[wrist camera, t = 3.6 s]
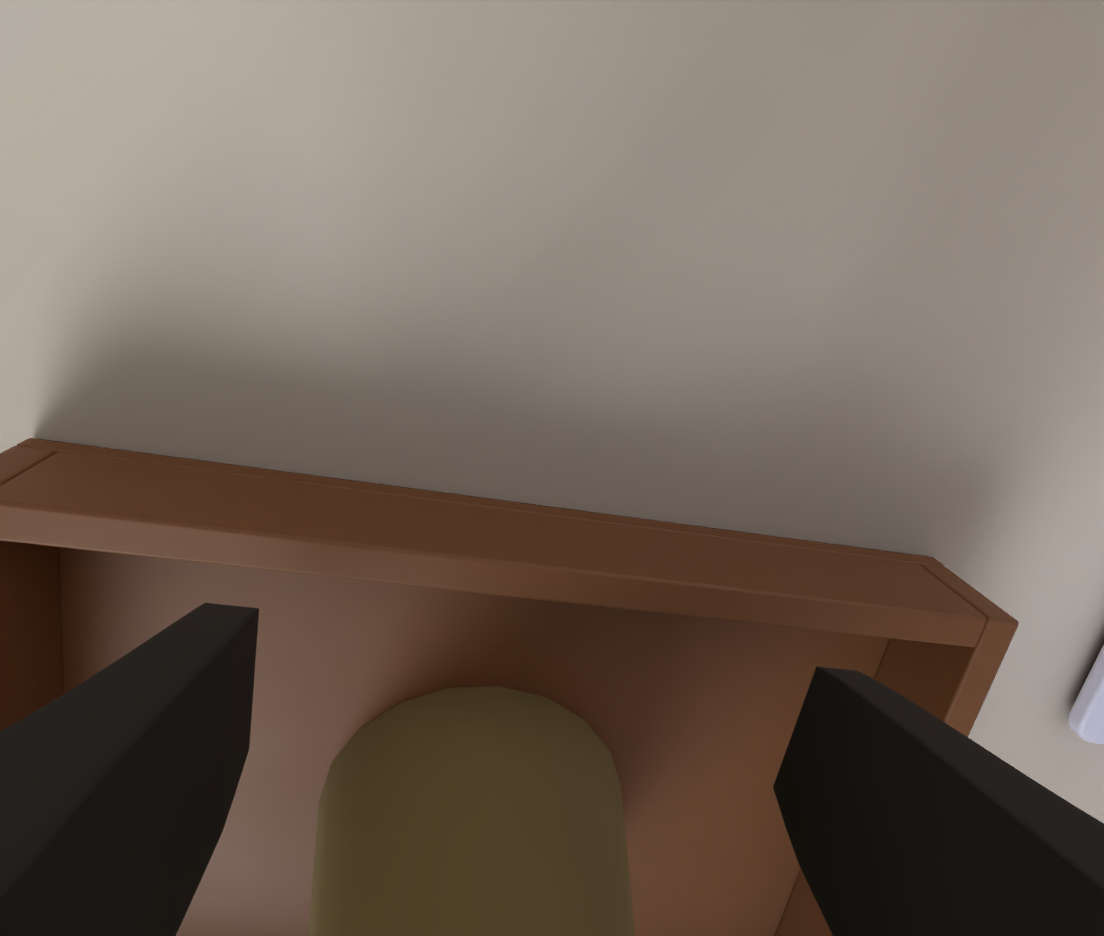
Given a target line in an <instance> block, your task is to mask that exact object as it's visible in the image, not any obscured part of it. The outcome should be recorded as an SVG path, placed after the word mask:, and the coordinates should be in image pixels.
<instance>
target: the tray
mask: <svg viewBox="0 0 1104 936" xmlns="http://www.w3.org/2000/svg"><path fill="white" fill-rule="evenodd" d="M204 603H213V604H222V605H232V606H242V607H251V608H259V618H258V632H257V646H256V660H255V675H254V689H253V703H252V717H251V731H250V746H249V752H248V755H247V758H246V761H245V764H244V767H243V771H242V774H241V777H240V780H239V783H238V786H237V790H236V793H235V796H234V799H233V802H232V805H231V808H230V811H229V814H228V817H227V820H226V823H225V826H224V829H223V832H222V834H221V836H220V839H219V841H218V843H217V845H216V848H215V850H214V852H213V855H212V857H211V859H210V861H209V863H208V866H207V868H206V870H205V872H204V875H203V877H202V879H201V881H200V883H199V886H198V888H197V890H196V892H195V895H194V897H193V899H192V901H191V903H190V906H189V908H188V910H187V912H186V914H185V917H184V919H183V921H182V923H181V925H180V928H179V930H178V932H177V934H176V936H308V934H309V921H310V908H311V896H312V883H313V870H314V858H315V845H316V832H317V819H318V807H319V799H320V796H321V793H322V790H323V787H324V784H325V781H326V778H327V775H328V772H329V769H330V766H331V763H332V762H333V761H334V759H335V758H336V757H337V756H338V754H339V753H340V752H341V751H342V750H343V748H344V747H345V746H346V745H347V743H348V742H349V741H350V740H351V739H352V737H353V736H354V735H355V734H356V733H357V731H358V730H359V729H360V728H361V727H363V726H365V725H366V724H368V723H369V722H371V721H372V720H374V719H375V718H377V717H379V716H380V715H382V714H383V713H385V712H386V711H388V710H389V709H391V708H393V707H394V706H396V705H397V704H399V703H400V702H404V701H407V700H410V699H414V698H417V697H420V696H423V695H427V694H430V693H433V692H437V691H440V690H443V689H446V688H456V687H486V686H502V687H506V688H510V689H514V690H518V691H522V692H527V693H531V694H535V695H539V696H543V697H547V698H549V699H550V700H552V701H554V702H555V703H557V704H559V705H560V706H562V707H564V708H565V709H567V710H569V711H571V712H572V713H574V714H576V715H577V716H579V717H581V718H582V719H584V720H585V721H586V722H587V723H588V725H589V726H590V727H591V728H592V729H593V731H594V732H595V733H596V734H597V735H598V737H599V738H600V739H601V740H602V741H603V743H604V744H605V745H606V746H607V747H608V749H609V750H610V752H611V756H612V759H613V762H614V765H615V768H616V771H617V775H618V778H619V781H620V784H621V792H622V802H623V813H624V823H625V834H626V844H627V854H628V865H629V875H630V886H631V896H632V907H633V917H634V927H635V936H833V935H832V933H831V931H830V929H829V927H828V925H827V923H826V920H825V918H824V916H823V914H822V912H821V910H820V908H819V906H818V904H817V902H816V900H815V897H814V895H813V893H812V891H811V889H810V887H809V885H808V883H807V881H806V878H805V876H804V874H803V872H802V870H801V868H800V865H799V863H798V860H797V858H796V855H795V852H794V849H793V847H792V844H791V841H790V838H789V835H788V833H787V830H786V827H785V824H784V820H783V817H782V814H781V811H780V808H779V805H778V801H777V798H776V795H775V792H774V789H773V786H774V783H775V780H776V777H777V775H778V772H779V769H780V766H781V763H782V761H783V758H784V755H785V752H786V750H787V747H788V744H789V741H790V738H791V736H792V733H793V730H794V727H795V725H796V722H797V719H798V716H799V713H800V711H801V708H802V705H803V702H804V700H805V697H806V694H807V691H808V688H809V686H810V683H811V680H812V677H813V675H814V672H815V669H816V666H818V667H828V668H837V669H847V670H857V671H859V672H861V673H863V674H865V675H867V676H869V677H871V678H873V679H875V680H877V681H878V682H880V683H882V684H884V685H886V686H887V687H889V688H891V689H892V690H894V691H896V692H897V693H899V694H901V695H902V696H904V697H905V698H907V699H909V700H910V701H912V702H913V703H915V704H917V705H918V706H920V707H921V708H923V709H925V710H926V711H928V712H929V713H931V714H932V715H934V716H935V717H937V718H939V719H940V720H942V721H943V722H945V723H946V724H948V725H949V726H951V727H952V728H954V729H955V730H957V731H959V732H960V733H962V734H963V735H965V736H966V737H968V735H969V733H970V731H971V729H972V727H973V724H974V722H975V720H976V718H977V715H978V713H979V711H980V709H981V707H982V704H983V702H984V700H985V698H986V695H987V693H988V691H989V689H990V687H991V684H992V682H993V680H994V678H995V675H996V673H997V671H998V669H999V667H1000V664H1001V662H1002V660H1003V658H1004V655H1005V653H1006V651H1007V649H1008V647H1009V644H1010V642H1011V640H1012V638H1013V635H1014V633H1015V631H1016V629H1017V627H1018V621H1017V620H1016V619H1014V618H1013V617H1012V616H1010V615H1009V614H1008V613H1006V612H1005V611H1003V610H1002V609H1001V608H999V607H998V606H997V605H995V604H994V603H993V602H991V601H990V600H989V599H987V598H986V597H985V596H983V595H982V594H981V593H979V592H978V591H977V590H975V589H974V588H973V587H971V586H970V585H968V584H967V583H966V582H964V581H963V580H962V579H960V578H959V577H958V576H956V575H955V574H954V573H952V572H951V571H950V570H948V569H947V568H945V567H944V565H942V564H941V563H940V562H938V561H937V560H936V559H934V558H933V557H926V556H918V555H911V554H903V553H896V552H888V551H881V550H873V549H866V548H858V547H850V546H843V545H835V544H828V543H820V542H813V541H805V540H797V539H790V538H782V537H775V536H767V535H760V534H752V533H744V532H737V531H729V530H722V529H714V528H707V527H699V526H691V525H684V524H676V523H669V522H661V521H654V520H646V519H639V518H631V517H623V516H616V515H608V514H601V513H593V512H586V511H578V510H570V509H563V508H555V507H548V506H540V505H533V504H525V503H517V502H510V501H502V500H495V499H487V498H480V497H472V496H465V495H457V494H449V493H442V492H434V491H427V490H419V489H412V488H404V487H396V486H389V485H381V484H374V483H366V482H359V481H351V480H343V479H336V478H328V477H321V476H313V475H306V474H298V473H290V472H283V471H275V470H268V469H260V468H253V467H245V466H238V465H230V464H222V463H215V462H207V461H200V460H192V459H185V458H177V457H169V456H162V455H154V454H147V453H139V452H132V451H124V450H116V449H109V448H101V447H94V446H86V445H79V444H71V443H63V442H56V441H48V440H41V439H33V438H30V439H27V440H25V441H23V442H21V443H19V444H17V446H14V447H12V448H10V449H8V450H6V451H4V452H2V453H0V732H1V731H2V730H4V729H6V728H7V727H9V726H11V725H13V724H14V723H16V722H18V721H19V720H21V719H23V718H25V717H26V716H28V715H30V714H31V713H33V712H35V711H37V710H38V709H40V708H42V707H43V706H45V705H47V704H49V703H50V702H52V701H54V700H55V699H57V698H59V697H60V696H62V695H64V694H65V693H67V692H68V691H70V690H72V689H73V688H75V687H76V686H78V685H79V684H81V683H83V682H84V681H86V680H87V679H89V678H90V677H92V676H93V675H95V674H97V673H98V672H100V671H101V670H103V669H104V668H106V667H107V666H109V665H111V664H112V663H114V662H115V661H117V660H118V659H120V658H121V657H123V656H124V655H126V654H128V653H129V652H131V651H132V650H134V649H135V648H137V647H138V646H140V645H141V644H143V643H144V642H146V641H147V640H149V639H150V638H152V637H153V636H155V635H156V634H158V633H159V632H161V631H162V630H164V629H165V628H167V627H168V626H170V625H171V624H173V623H174V622H176V621H177V620H179V619H180V618H182V617H183V616H185V615H186V614H188V613H189V612H191V611H192V610H194V609H195V608H197V607H199V606H200V605H202V604H204Z"/></svg>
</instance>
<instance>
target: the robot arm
mask: <svg viewBox="0 0 1104 936" xmlns="http://www.w3.org/2000/svg"><path fill="white" fill-rule="evenodd" d="M258 618H259V608H251V607H242V606H232V605H222V604H213V603H204V604H202V605H200V606H199V607H197V608H195V609H194V610H192V611H191V612H189V613H188V614H186V615H185V616H183V617H182V618H180V619H179V620H177V621H176V622H174V623H173V624H171V625H170V626H168V627H167V628H165V629H164V630H162V631H161V632H159V633H158V634H156V635H155V636H153V637H152V638H150V639H149V640H147V641H146V642H144V643H143V644H141V645H140V646H138V647H137V648H135V649H134V650H132V651H131V652H129V653H128V654H126V655H124V656H123V657H121V658H120V659H118V660H117V661H115V662H114V663H112V664H111V665H109V666H107V667H106V668H104V669H103V670H101V671H100V672H98V673H97V674H95V675H93V676H92V677H90V678H89V679H87V680H86V681H84V682H83V683H81V684H79V685H78V686H76V687H75V688H73V689H72V690H70V691H68V692H67V693H65V694H64V695H62V696H60V697H59V698H57V699H55V700H54V701H52V702H50V703H49V704H47V705H45V706H43V707H42V708H40V709H38V710H37V711H35V712H33V713H31V714H30V715H28V716H26V717H25V718H23V719H21V720H19V721H18V722H16V723H14V724H13V725H11V726H9V727H7V728H6V729H4V730H2V731H1V732H0V936H176V934H177V932H178V930H179V928H180V925H181V923H182V921H183V919H184V917H185V914H186V912H187V910H188V908H189V906H190V903H191V901H192V899H193V897H194V895H195V892H196V890H197V888H198V886H199V883H200V881H201V879H202V877H203V875H204V872H205V870H206V868H207V866H208V863H209V861H210V859H211V857H212V855H213V852H214V850H215V848H216V845H217V843H218V841H219V839H220V836H221V834H222V832H223V829H224V826H225V823H226V820H227V817H228V814H229V811H230V808H231V805H232V802H233V799H234V796H235V793H236V790H237V786H238V783H239V780H240V777H241V774H242V771H243V767H244V764H245V761H246V758H247V755H248V752H249V746H250V731H251V717H252V703H253V689H254V675H255V660H256V646H257V632H258ZM1068 724H1069V727H1070V728H1071V729H1072V731H1073V732H1075V733H1076V734H1077V735H1078V736H1079V737H1080V738H1082V739H1083V740H1084V741H1086V742H1090V743H1098V744H1104V645H1103V647H1102V649H1101V651H1100V653H1099V655H1098V657H1097V659H1096V661H1095V663H1094V665H1093V667H1092V669H1091V671H1090V673H1089V675H1088V677H1087V679H1086V681H1085V683H1084V685H1083V687H1082V689H1081V691H1080V693H1079V695H1078V697H1077V699H1076V701H1075V703H1074V705H1073V707H1072V709H1071V711H1070V714H1069V717H1068ZM773 789H774V792H775V795H776V798H777V801H778V805H779V808H780V811H781V814H782V817H783V820H784V824H785V827H786V830H787V833H788V835H789V838H790V841H791V844H792V847H793V849H794V852H795V855H796V858H797V860H798V863H799V865H800V868H801V870H802V872H803V874H804V876H805V878H806V881H807V883H808V885H809V887H810V889H811V891H812V893H813V895H814V897H815V900H816V902H817V904H818V906H819V908H820V910H821V912H822V914H823V916H824V918H825V920H826V923H827V925H828V927H829V929H830V931H831V933H832V935H833V936H1104V824H1103V823H1102V822H1100V821H1098V820H1097V819H1095V818H1093V817H1092V816H1090V815H1088V814H1087V813H1085V812H1084V811H1082V810H1080V809H1079V808H1077V807H1075V806H1074V805H1072V804H1070V803H1069V802H1067V801H1066V800H1064V799H1062V798H1061V797H1059V796H1058V795H1056V794H1055V793H1053V792H1051V791H1050V790H1048V789H1047V788H1045V787H1043V786H1042V785H1040V784H1039V783H1037V782H1036V781H1034V780H1032V779H1031V778H1029V777H1028V776H1026V775H1025V774H1023V773H1022V772H1020V771H1018V770H1017V769H1015V768H1014V767H1012V766H1011V765H1009V764H1008V763H1006V762H1005V761H1003V760H1001V759H1000V758H998V757H997V756H995V755H994V754H992V753H991V752H989V751H988V750H986V749H985V748H983V747H981V746H980V745H978V744H977V743H975V742H974V741H972V740H971V739H969V738H968V737H966V736H965V735H963V734H962V733H960V732H959V731H957V730H955V729H954V728H952V727H951V726H949V725H948V724H946V723H945V722H943V721H942V720H940V719H939V718H937V717H935V716H934V715H932V714H931V713H929V712H928V711H926V710H925V709H923V708H921V707H920V706H918V705H917V704H915V703H913V702H912V701H910V700H909V699H907V698H905V697H904V696H902V695H901V694H899V693H897V692H896V691H894V690H892V689H891V688H889V687H887V686H886V685H884V684H882V683H880V682H878V681H877V680H875V679H873V678H871V677H869V676H867V675H865V674H863V673H861V672H859V671H857V670H847V669H837V668H828V667H818V666H816V669H815V672H814V675H813V677H812V680H811V683H810V686H809V688H808V691H807V694H806V697H805V700H804V702H803V705H802V708H801V711H800V713H799V716H798V719H797V722H796V725H795V727H794V730H793V733H792V736H791V738H790V741H789V744H788V747H787V750H786V752H785V755H784V758H783V761H782V763H781V766H780V769H779V772H778V775H777V777H776V780H775V783H774V786H773Z"/></svg>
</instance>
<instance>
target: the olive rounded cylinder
mask: <svg viewBox="0 0 1104 936" xmlns="http://www.w3.org/2000/svg"><path fill="white" fill-rule="evenodd" d="M308 936H635V927H634V917H633V907H632V896H631V886H630V875H629V865H628V854H627V844H626V834H625V823H624V813H623V802H622V792H621V784H620V781H619V778H618V775H617V771H616V768H615V765H614V762H613V759H612V756H611V752H610V750H609V749H608V747H607V746H606V745H605V744H604V743H603V741H602V740H601V739H600V738H599V737H598V735H597V734H596V733H595V732H594V731H593V729H592V728H591V727H590V726H589V725H588V723H587V722H586V721H585V720H584V719H582V718H581V717H579V716H577V715H576V714H574V713H572V712H571V711H569V710H567V709H565V708H564V707H562V706H560V705H559V704H557V703H555V702H554V701H552V700H550V699H549V698H547V697H543V696H539V695H535V694H531V693H527V692H522V691H518V690H514V689H510V688H506V687H502V686H486V687H456V688H446V689H443V690H440V691H437V692H433V693H430V694H427V695H423V696H420V697H417V698H414V699H410V700H407V701H404V702H400V703H399V704H397V705H396V706H394V707H393V708H391V709H389V710H388V711H386V712H385V713H383V714H382V715H380V716H379V717H377V718H375V719H374V720H372V721H371V722H369V723H368V724H366V725H365V726H363V727H361V728H360V729H359V730H358V731H357V733H356V734H355V735H354V736H353V737H352V739H351V740H350V741H349V742H348V743H347V745H346V746H345V747H344V748H343V750H342V751H341V752H340V753H339V754H338V756H337V757H336V758H335V759H334V761H333V762H332V763H331V766H330V769H329V772H328V775H327V778H326V781H325V784H324V787H323V790H322V793H321V796H320V799H319V807H318V819H317V832H316V845H315V858H314V870H313V883H312V896H311V908H310V921H309V934H308Z"/></svg>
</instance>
